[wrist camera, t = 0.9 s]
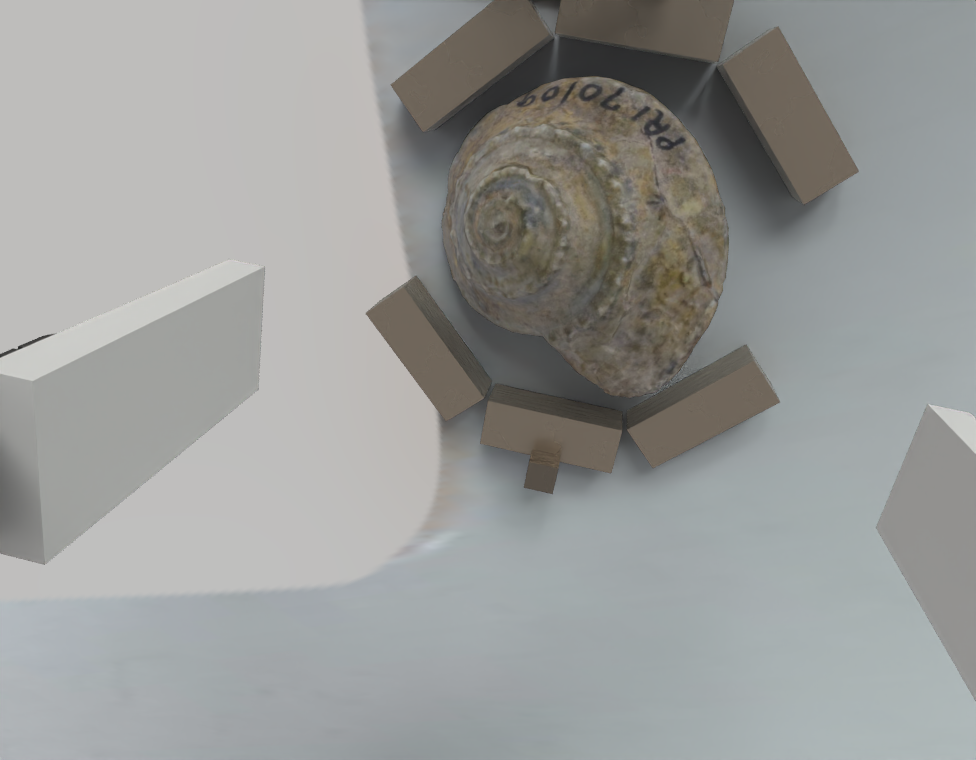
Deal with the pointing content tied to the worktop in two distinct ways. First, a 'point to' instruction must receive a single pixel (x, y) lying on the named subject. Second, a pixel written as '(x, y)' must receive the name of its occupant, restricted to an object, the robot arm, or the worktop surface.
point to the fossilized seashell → (590, 229)
